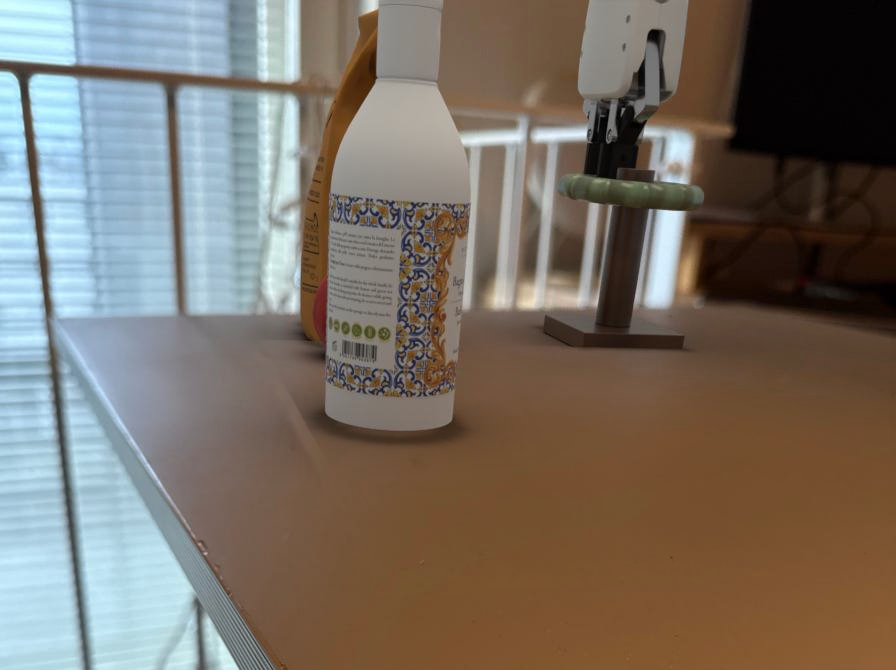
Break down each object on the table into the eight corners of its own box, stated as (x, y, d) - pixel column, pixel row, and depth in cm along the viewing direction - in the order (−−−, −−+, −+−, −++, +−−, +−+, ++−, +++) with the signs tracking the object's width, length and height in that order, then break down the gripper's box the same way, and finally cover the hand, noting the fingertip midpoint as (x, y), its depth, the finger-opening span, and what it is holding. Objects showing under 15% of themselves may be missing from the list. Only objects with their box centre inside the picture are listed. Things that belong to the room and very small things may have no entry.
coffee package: (414, 327, 83) (433, 27, 73) (435, 356, 72) (460, 8, 62) (298, 322, 81) (301, 15, 71) (301, 350, 71) (305, -7, 60)
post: (634, 334, 88) (661, 170, 82) (681, 353, 80) (715, 174, 74) (542, 331, 86) (563, 163, 80) (582, 351, 78) (608, 167, 72)
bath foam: (440, 453, 49) (477, -17, 40) (309, 437, 50) (316, -25, 41) (459, 421, 55) (496, 7, 46) (342, 407, 56) (355, 0, 47)
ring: (659, 203, 85) (663, 180, 84) (728, 215, 75) (734, 190, 74) (536, 193, 82) (539, 169, 81) (592, 205, 72) (596, 178, 71)
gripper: (742, -79, 68) (689, 206, 76) (642, -45, 81) (606, 194, 90) (646, -93, 66) (603, 200, 74) (559, -56, 80) (531, 188, 88)
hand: (605, 194), depth 82 cm, fingers closed on ring, 2 cm apart
